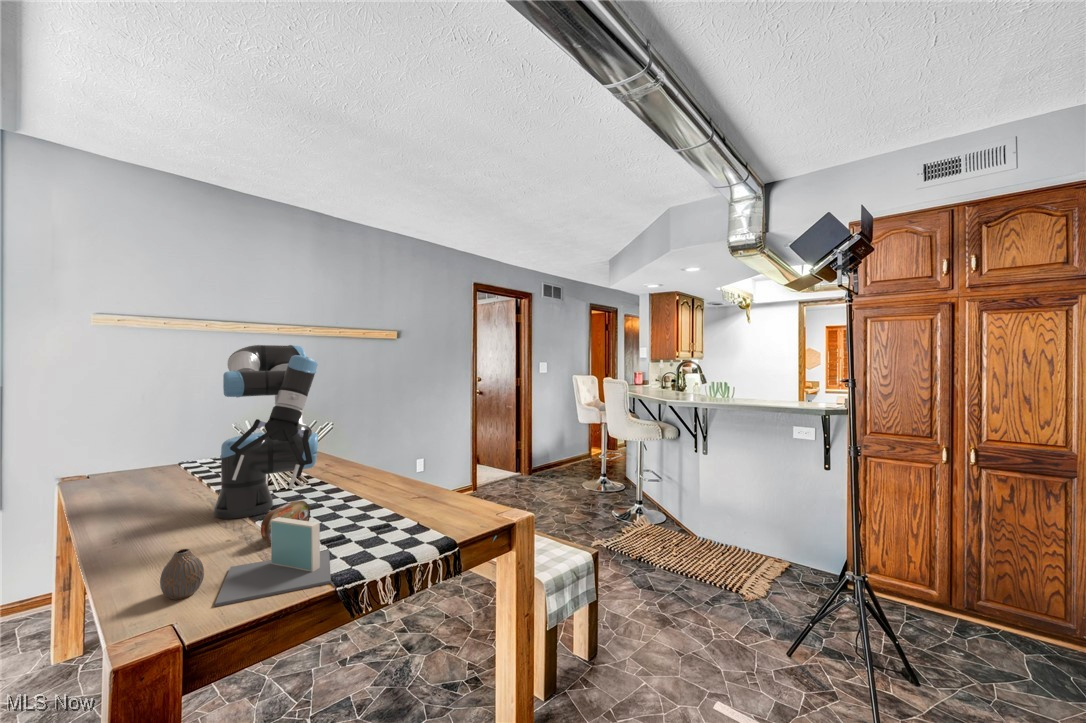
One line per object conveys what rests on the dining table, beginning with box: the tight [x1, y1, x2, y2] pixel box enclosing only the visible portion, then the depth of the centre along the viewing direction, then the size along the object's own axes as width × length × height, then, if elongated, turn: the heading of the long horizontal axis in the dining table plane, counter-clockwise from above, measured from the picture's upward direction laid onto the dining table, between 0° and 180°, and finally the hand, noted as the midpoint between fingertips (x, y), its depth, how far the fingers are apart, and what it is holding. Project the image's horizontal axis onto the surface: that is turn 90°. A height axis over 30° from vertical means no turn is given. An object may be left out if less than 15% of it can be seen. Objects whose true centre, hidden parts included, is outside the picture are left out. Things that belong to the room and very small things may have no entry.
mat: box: [214, 549, 332, 608], centre depth 98 cm, size 17×20×1 cm
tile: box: [270, 517, 321, 572], centre depth 102 cm, size 12×2×10 cm, turn 71°
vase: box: [159, 548, 205, 600], centre depth 91 cm, size 7×7×9 cm
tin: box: [260, 500, 311, 544], centre depth 120 cm, size 15×3×8 cm, turn 168°
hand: (262, 484), depth 122 cm, fingers open, 13 cm apart
